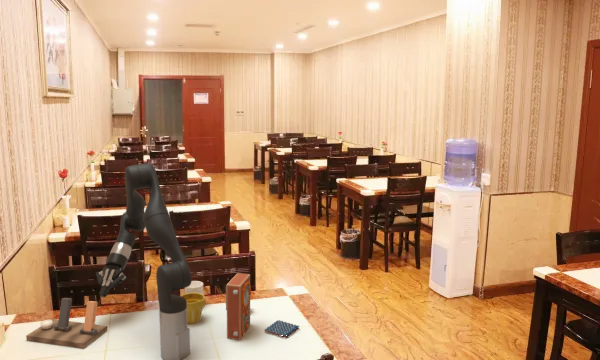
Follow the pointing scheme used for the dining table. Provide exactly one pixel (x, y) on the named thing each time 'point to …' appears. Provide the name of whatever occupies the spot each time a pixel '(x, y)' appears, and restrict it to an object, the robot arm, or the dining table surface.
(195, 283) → the white cup
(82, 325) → the switch board
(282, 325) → the woven mat
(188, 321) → the plant pot
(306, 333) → the dining table surface
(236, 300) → the control panel
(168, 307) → the robot arm
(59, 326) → the long grey beam
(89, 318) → the orange block
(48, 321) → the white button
